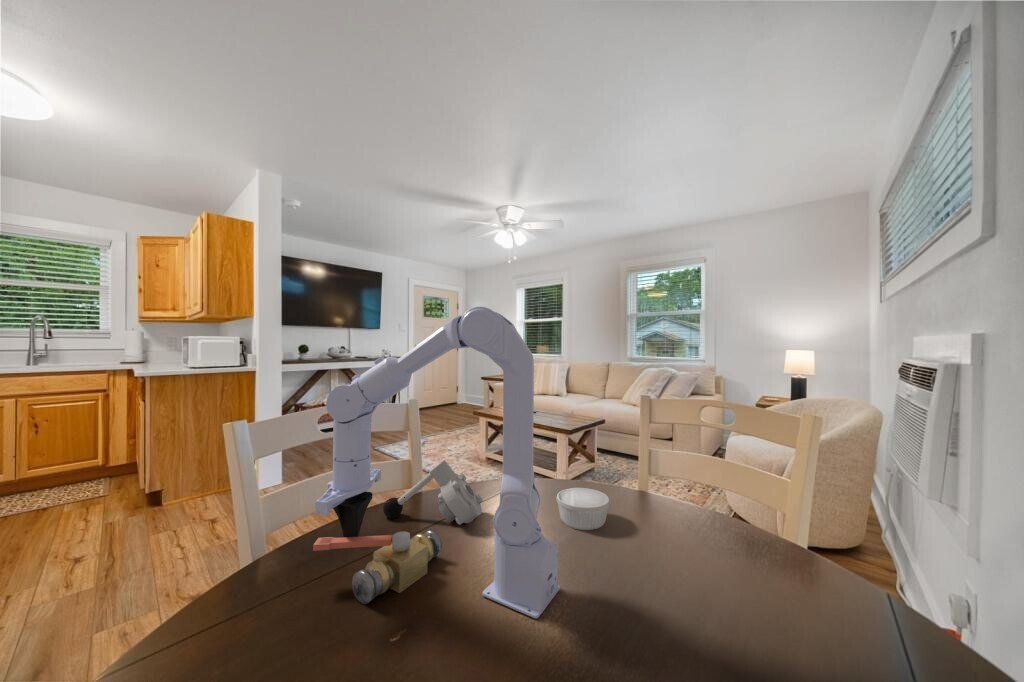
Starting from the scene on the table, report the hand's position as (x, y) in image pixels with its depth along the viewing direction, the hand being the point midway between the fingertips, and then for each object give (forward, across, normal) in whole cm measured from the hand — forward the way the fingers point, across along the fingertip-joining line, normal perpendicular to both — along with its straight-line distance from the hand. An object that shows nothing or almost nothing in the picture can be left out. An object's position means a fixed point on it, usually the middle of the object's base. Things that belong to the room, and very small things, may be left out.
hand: (350, 539), depth 62 cm
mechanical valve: (+6, -22, +5) cm, 23 cm away
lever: (+1, +1, +3) cm, 3 cm away
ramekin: (+6, -28, +37) cm, 47 cm away
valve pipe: (+6, -1, +8) cm, 10 cm away
